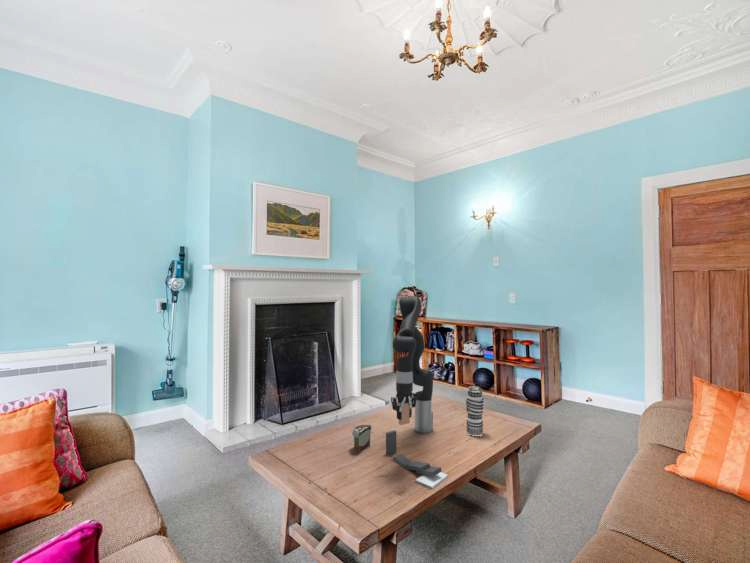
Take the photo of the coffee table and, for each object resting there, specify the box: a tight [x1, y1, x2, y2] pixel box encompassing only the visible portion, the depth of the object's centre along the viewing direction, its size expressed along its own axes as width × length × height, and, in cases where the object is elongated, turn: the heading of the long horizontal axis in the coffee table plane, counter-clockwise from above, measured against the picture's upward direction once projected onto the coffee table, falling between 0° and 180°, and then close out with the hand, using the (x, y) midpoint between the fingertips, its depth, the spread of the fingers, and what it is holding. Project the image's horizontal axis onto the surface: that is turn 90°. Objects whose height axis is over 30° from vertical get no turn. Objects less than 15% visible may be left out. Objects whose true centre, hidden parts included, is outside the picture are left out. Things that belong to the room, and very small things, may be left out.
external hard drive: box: [414, 472, 449, 490], centre depth 152 cm, size 2×8×12 cm
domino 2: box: [398, 402, 411, 426], centre depth 167 cm, size 5×2×10 cm, turn 124°
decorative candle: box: [465, 385, 484, 437], centre depth 199 cm, size 9×9×25 cm
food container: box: [351, 424, 372, 454], centre depth 180 cm, size 12×6×10 cm, turn 149°
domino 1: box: [385, 430, 397, 456], centre depth 175 cm, size 5×2×10 cm, turn 124°
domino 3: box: [392, 453, 413, 470], centre depth 166 cm, size 5×2×10 cm
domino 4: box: [406, 460, 431, 472], centre depth 158 cm, size 5×2×10 cm
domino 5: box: [415, 465, 443, 476], centre depth 154 cm, size 5×2×10 cm
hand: (404, 418), depth 167 cm, fingers closed on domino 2, 5 cm apart
